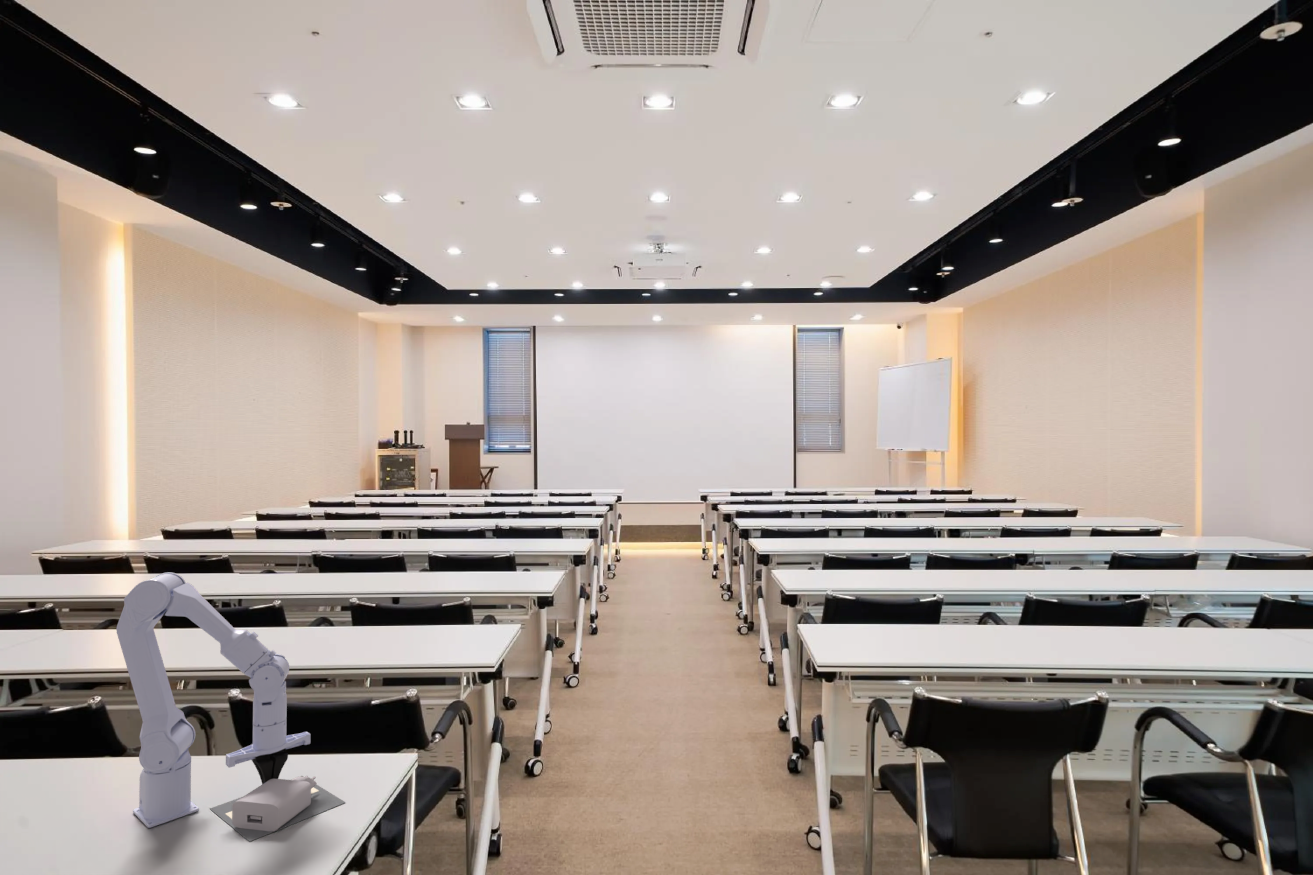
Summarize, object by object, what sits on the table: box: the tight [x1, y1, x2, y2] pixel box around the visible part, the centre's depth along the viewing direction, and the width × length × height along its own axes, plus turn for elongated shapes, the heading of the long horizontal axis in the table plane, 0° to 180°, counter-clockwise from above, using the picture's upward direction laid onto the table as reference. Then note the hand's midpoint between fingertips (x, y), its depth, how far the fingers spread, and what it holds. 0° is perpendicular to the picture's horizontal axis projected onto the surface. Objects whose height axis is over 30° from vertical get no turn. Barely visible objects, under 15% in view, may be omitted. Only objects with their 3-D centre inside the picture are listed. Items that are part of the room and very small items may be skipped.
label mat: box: [209, 775, 347, 843], centre depth 132 cm, size 18×17×1 cm
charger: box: [232, 775, 318, 832], centre depth 130 cm, size 5×9×15 cm
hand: (269, 791), depth 134 cm, fingers closed
